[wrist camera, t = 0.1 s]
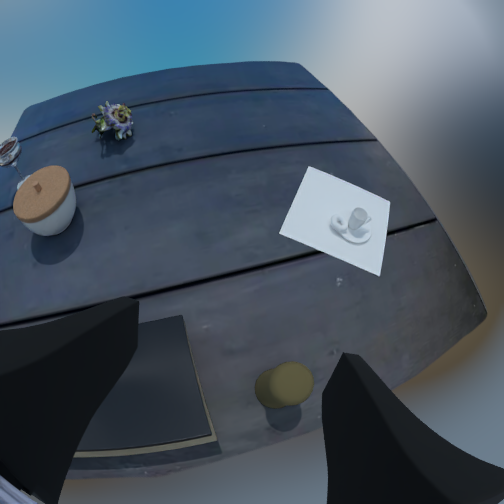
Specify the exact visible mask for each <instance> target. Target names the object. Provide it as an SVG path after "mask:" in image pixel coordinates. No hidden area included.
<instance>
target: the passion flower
mask: <svg viewBox="0 0 504 504" xmlns="http://www.w3.org/2000/svg"><path fill="white" fill-rule="evenodd" d="M105 106H106V108H105V107H102V106H98V107H99V109H100V111H101V112H102V114H103V117H102V118H101V120H100V119H99V120H97V121H95V120H94V118H93V117H92V118H93V120H94V121H95V123H96V125H95V127H94V129H93V130H92V133H93V132H94V131H95V130H98V132H99V137H100V138H101V136H102V134H103V133H104V132H105V131H108V130H110V129H115V131H116V134H115V138H116V140H118V141H120V140H121V139H125V140H126V136H132V133H131V130H130V129H131V125H132V124H133V122H132V116H131V115H132V114H131V111H130V110H129V109H128V108H127V107H126V106H125V103H123V106H121V105H119V104H117V105H115V104H113V106H112V105H109V103H108V101H107V102H106V104H105ZM92 116H95V118H96V119H97V116H96V115H95V114H92ZM99 126H101V127H99Z"/></svg>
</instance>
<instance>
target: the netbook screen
mask: <svg viewBox="0 0 504 504" xmlns="http://www.w3.org/2000/svg"><path fill="white" fill-rule="evenodd" d="M208 436H212V432H211V429H210V426H209V422H208V419H207V415H206V412H205V408H204V404H203V401H202V397H201V393H200V389H199V385H198V382H197V378H196V374H195V369H194V365H193V361H192V357H191V353H190V348H189V344H188V339H187V335H186V330H185V325H184V320H183V316H182V315H179V316H174V317H169V318H165V319H160V320H155V321H150V322H145V323H140V324H138V347H137V349H136V351H135V353H134V355H133V357H132V359H131V361H130V363H129V365H128V367H127V368H126V370H125V371H124V373H123V374H122V376H121V377H120V378H119V380H118V381H117V383H116V384H115V385H114V387H113V388H112V390H111V391H110V392H109V394H108V395H107V397H106V398H105V399H104V401H103V402H102V404H101V405H100V407H99V408H98V409H97V411H96V413H95V414H94V416H93V417H92V419H91V421H90V423H89V425H88V427H87V429H86V431H85V433H84V435H83V437H82V439H81V441H80V443H79V445H78V448H77V450H76V452H93V451H112V450H125V449H135V448H144V447H152V446H159V445H166V444H172V443H178V442H183V441H189V440H194V439H199V438H204V437H208Z"/></svg>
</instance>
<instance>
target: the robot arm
mask: <svg viewBox="0 0 504 504" xmlns="http://www.w3.org/2000/svg"><path fill="white" fill-rule="evenodd" d="M138 318H139V301H137V300H134V299H131V298H128V297H125V296H124V297H120V298H117V299H114V300H111V301H109V302H106V303H103V304H101V305H98V306H95V307H93V308H90V309H87V310H85V311H82V312H79V313H76V314H73V315H70V316H67V317H64V318H61V319H58V320H55V321H51V322H48V323H44V324H40V325H35V326H30V327H25V328H19V329H11V330H2V331H0V504H38V503H36V502H35V501H33V500H32V499H30V498H29V497H28V496H26V495H25V494H23V493H22V492H21V491H20V490H21V489H22V490H23V491H25V492H26V493H27V494H29V495H33V496H35V497H36V498H38V499H39V500H41V501H42V502H44V503H45V504H58V500H59V497H60V493H61V490H62V487H63V483H64V480H65V477H66V475H67V472H68V469H69V467H70V464H71V462H72V459H73V457H74V454H75V452H76V450H77V448H78V445H79V443H80V441H81V439H82V437H83V435H84V433H85V431H86V429H87V427H88V425H89V423H90V421H91V419H92V417H93V416H94V414H95V413H96V411H97V409H98V408H99V407H100V405H101V404H102V402H103V401H104V399H105V398H106V397H107V395H108V394H109V392H110V391H111V390H112V388H113V387H114V385H115V384H116V383H117V381H118V380H119V378H120V377H121V376H122V374H123V373H124V371H125V370H126V368H127V367H128V365H129V363H130V361H131V359H132V357H133V355H134V353H135V351H136V349H137V347H138ZM322 423H323V432H324V440H325V448H326V458H327V466H328V493H327V504H498V503H499V502H500V501H502V500H503V499H504V469H503V468H501V467H498V466H495V465H493V464H490V463H487V462H485V461H482V460H480V459H478V458H476V457H474V456H472V455H470V454H468V453H466V452H464V451H462V450H461V449H459V448H457V447H456V446H454V445H452V444H451V443H450V442H448V441H447V440H445V439H444V438H442V437H441V436H439V435H438V434H437V433H435V432H434V431H433V430H432V429H430V428H429V427H428V426H427V425H426V424H424V423H423V422H422V421H420V419H418V418H417V417H416V416H415V415H414V414H413V413H412V412H411V411H410V410H409V409H408V408H407V407H406V406H405V405H404V404H403V403H402V402H401V401H400V400H399V399H398V398H397V397H396V396H395V395H394V393H393V392H392V391H391V390H390V389H389V388H388V387H387V386H386V385H385V383H384V382H383V381H382V380H381V379H380V378H379V377H378V375H377V374H376V373H375V372H374V371H373V370H372V369H371V367H370V366H369V365H368V364H367V363H366V362H365V361H364V360H363V359H362V358H361V357H360V356H359V355H355V354H349V353H344V352H343V354H342V356H341V358H340V360H339V362H338V364H337V366H336V368H335V370H334V372H333V374H332V376H331V378H330V380H329V381H328V383H327V385H326V387H325V389H324V391H323V393H322Z"/></svg>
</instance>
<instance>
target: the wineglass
mask: <svg viewBox="0 0 504 504" xmlns="http://www.w3.org/2000/svg"><path fill="white" fill-rule="evenodd" d="M20 155H21V145H20V144H19V143H18V142H17V138H16V137H11V138H9V139H7V140H5V141H4V142H3V143H2V144H0V166H1V167H3V168H10V167H12V166H14V167H15V169H16V171H17V172H18V174H19V175H20V177H21V178H22V179H21V180H20V182H19V183H18V186H17V189H19V188H20V186H21V185H22V184H23V182H24V181H25V180H26V179H27V178H28V177H29V176H31V175H28V176H25V177H24V178H23V177H22V175H21V173H20V171H19V169H18V167H17V165H16V164H17V162H18V160H19V158H20Z"/></svg>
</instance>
